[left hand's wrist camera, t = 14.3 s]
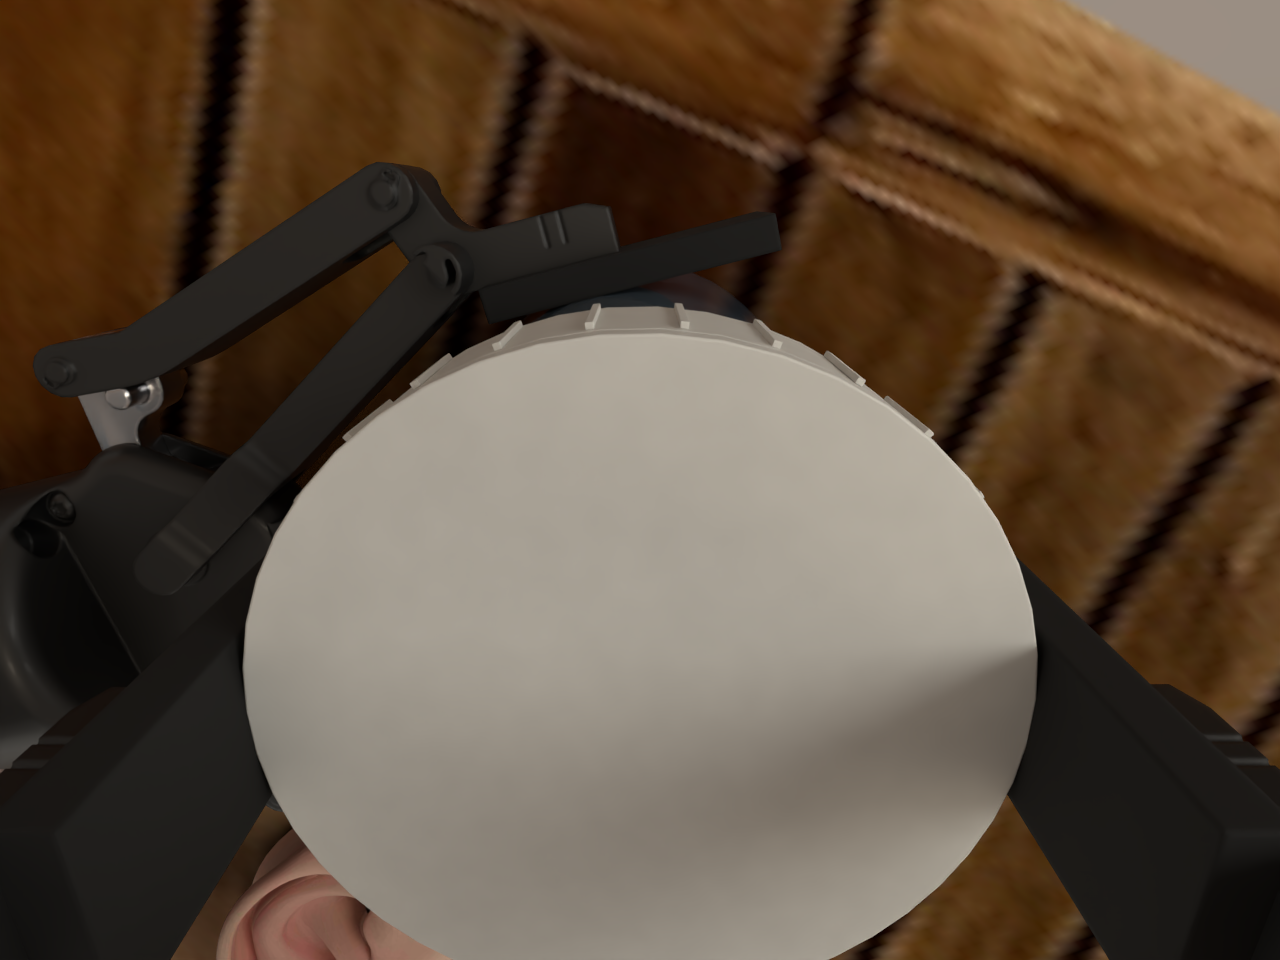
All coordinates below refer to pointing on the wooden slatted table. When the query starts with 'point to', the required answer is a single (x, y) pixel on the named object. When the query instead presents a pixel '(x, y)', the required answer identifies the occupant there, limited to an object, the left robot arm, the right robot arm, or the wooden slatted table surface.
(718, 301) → the jar
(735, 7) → the wooden slatted table surface
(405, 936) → the anatomical model
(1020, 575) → the lid
